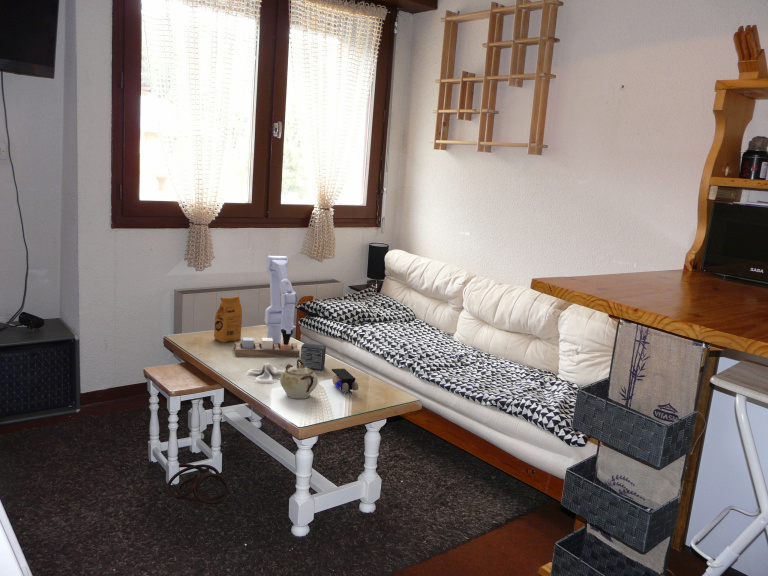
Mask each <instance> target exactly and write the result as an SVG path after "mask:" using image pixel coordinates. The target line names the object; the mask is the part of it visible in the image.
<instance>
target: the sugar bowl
mask: <svg viewBox="0 0 768 576" xmlns="http://www.w3.org/2000/svg"><path fill="white" fill-rule="evenodd" d="M300 364H301V366H300ZM283 371H284V372H283V373H282V375H281V377H280V380H279V382H280V386H281V387H282V389H283V391H284V392H285V393H286V395H287V396H288V397H289V398H291V399H297V400H299V399H306V398H308V397H309V396H310V395H311V393H312V392H313V391H314V390H315V389H316V388H317V385H318V382H319V381H318V380H319V379H318V375H316V373H315V372H314V370H311V369H309V368H307V367H304V366H303V363H302V362H301V358H297V360H296V365H295V366H293V365H292V364H290V363H288V364H287V365H286V367H285V370H283Z"/></svg>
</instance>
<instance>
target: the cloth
mask: <svg viewBox="0 0 768 576" xmlns="http://www.w3.org/2000/svg"><path fill="white" fill-rule="evenodd" d="M284 371H285V370H280V369H277V367H274V366H272V365H271V363H270V362H265V363H264V364H263V366H262V368H261V369H259V368H251V369H248V370H247V371H246V372H245V376H247V377H249V376H254V377H255V380H254V381H253V383H255V384H276V381H275V380H274V379H275V378H276V379H277V380H278V381H280V377H281V375H282V373H283V372H284Z"/></svg>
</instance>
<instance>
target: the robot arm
mask: <svg viewBox="0 0 768 576" xmlns="http://www.w3.org/2000/svg"><path fill="white" fill-rule="evenodd" d="M288 266H289V259H288V256H287V255H268V256H267V257H266V261H265V267H266V272H267V274H269V292H270V293H269V294H270V295H269V297H270V298H269V299H270V305H269V306H268V307H266V309H265V310H264V317H263V318H264V323H265V324H266V326H267V327H266V328H267V331H266V338H272V339H273V343H284V345H288V344H289V343H290V340H291V338H292V335H293V334H294V330H293V329H296V325H294V319H295V306H296V305H297V302H298V295H297V292H296V291H295V290H294V289H293V285H292V282H291V281H290V280H289V279H288V274H287V273H288V271H287V269H288Z"/></svg>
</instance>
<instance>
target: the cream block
mask: <svg viewBox="0 0 768 576" xmlns="http://www.w3.org/2000/svg"><path fill="white" fill-rule="evenodd" d="M260 343H261V347H262V349H273V339H272V338H267V337H261V341H260Z"/></svg>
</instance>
